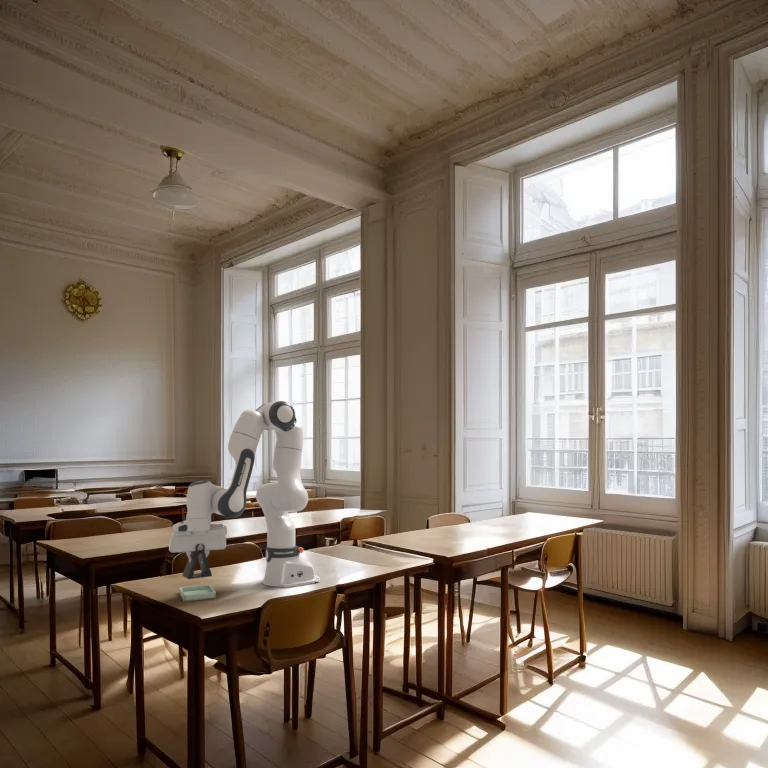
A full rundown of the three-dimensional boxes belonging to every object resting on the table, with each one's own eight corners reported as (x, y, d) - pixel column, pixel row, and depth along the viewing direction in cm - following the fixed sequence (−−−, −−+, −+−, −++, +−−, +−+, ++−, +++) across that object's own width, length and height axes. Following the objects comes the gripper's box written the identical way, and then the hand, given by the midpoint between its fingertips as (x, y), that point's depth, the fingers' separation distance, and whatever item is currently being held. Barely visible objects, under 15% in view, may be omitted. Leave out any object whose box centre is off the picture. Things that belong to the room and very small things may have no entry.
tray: (210, 589, 243) (210, 584, 243) (216, 598, 231) (216, 592, 231) (179, 592, 239) (179, 587, 239) (183, 601, 227) (183, 595, 227)
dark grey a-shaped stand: (206, 573, 240) (207, 540, 241) (211, 576, 235) (212, 543, 236) (182, 576, 235) (183, 542, 236) (187, 579, 230) (188, 545, 231)
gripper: (225, 522, 244) (224, 559, 243) (169, 525, 235) (167, 563, 234) (228, 524, 238) (227, 562, 237) (170, 527, 230) (169, 567, 229)
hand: (197, 563), depth 236 cm, fingers closed on dark grey a-shaped stand, 3 cm apart
